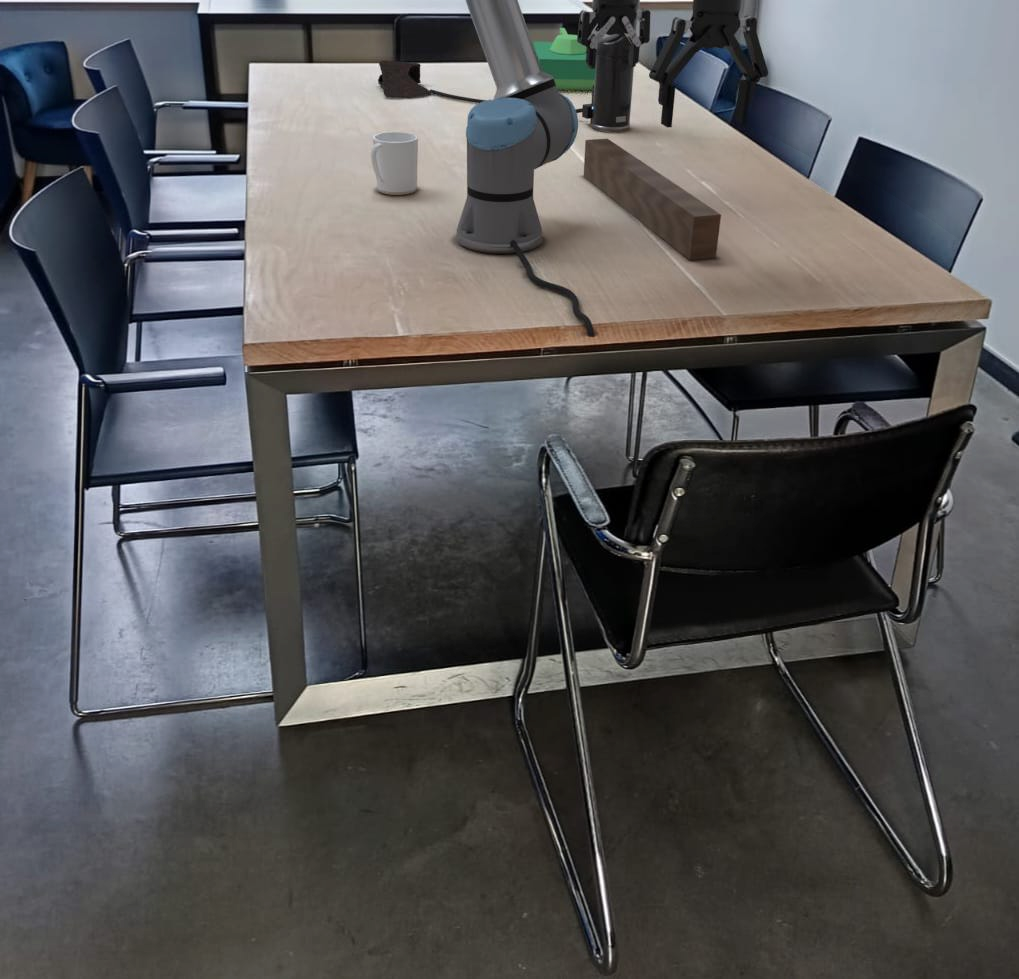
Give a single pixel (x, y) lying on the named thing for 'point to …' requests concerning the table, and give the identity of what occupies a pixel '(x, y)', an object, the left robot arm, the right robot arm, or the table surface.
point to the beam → (653, 199)
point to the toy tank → (565, 62)
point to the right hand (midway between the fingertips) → (611, 67)
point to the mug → (395, 162)
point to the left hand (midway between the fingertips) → (703, 123)
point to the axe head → (401, 79)
